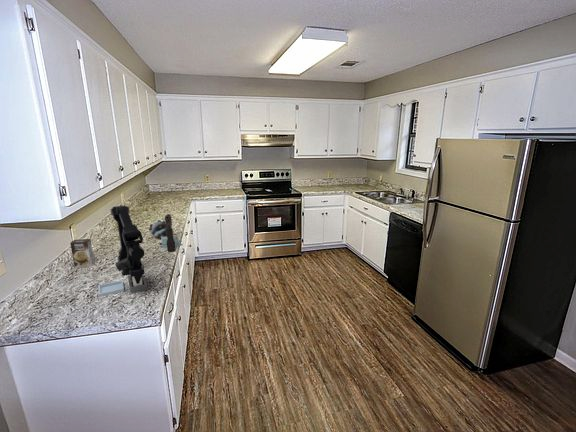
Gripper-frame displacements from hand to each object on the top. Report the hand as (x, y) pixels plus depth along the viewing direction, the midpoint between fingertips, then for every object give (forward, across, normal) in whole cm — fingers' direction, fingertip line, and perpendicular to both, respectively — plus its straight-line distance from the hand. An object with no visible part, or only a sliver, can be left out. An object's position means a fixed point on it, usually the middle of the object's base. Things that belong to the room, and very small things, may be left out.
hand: (137, 281), depth 156 cm
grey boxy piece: (+4, -4, 0) cm, 6 cm away
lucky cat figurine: (+5, -86, +25) cm, 90 cm away
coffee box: (+5, -50, -25) cm, 56 cm away
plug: (+2, 0, 0) cm, 2 cm away
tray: (+4, -6, -12) cm, 14 cm away
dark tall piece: (+5, -59, +27) cm, 65 cm away
